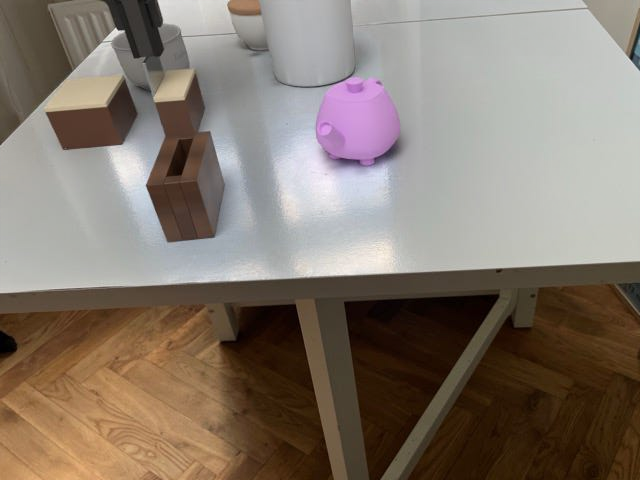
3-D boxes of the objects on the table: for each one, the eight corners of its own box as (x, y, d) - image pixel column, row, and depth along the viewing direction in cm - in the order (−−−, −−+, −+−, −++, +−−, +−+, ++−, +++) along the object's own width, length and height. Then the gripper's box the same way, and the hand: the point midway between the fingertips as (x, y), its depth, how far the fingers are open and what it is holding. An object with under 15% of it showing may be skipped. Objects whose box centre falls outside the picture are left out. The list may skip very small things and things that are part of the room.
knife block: (214, 237, 59) (196, 180, 55) (167, 242, 59) (145, 185, 54) (224, 184, 67) (210, 130, 63) (183, 188, 67) (165, 134, 62)
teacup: (198, 89, 90) (184, 37, 85) (128, 102, 88) (110, 49, 82) (188, 61, 100) (174, 14, 95) (125, 72, 97) (108, 24, 92)
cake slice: (166, 140, 77) (153, 98, 73) (178, 110, 84) (166, 70, 80) (195, 137, 77) (183, 95, 73) (205, 107, 85) (194, 68, 81)
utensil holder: (254, 85, 90) (229, -36, 79) (292, 53, 101) (275, -58, 89) (338, 92, 87) (326, -34, 75) (368, 58, 97) (361, -57, 85)
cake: (62, 149, 76) (43, 108, 72) (83, 118, 84) (67, 79, 80) (121, 144, 77) (105, 102, 73) (137, 113, 84) (123, 74, 80)
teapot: (416, 135, 75) (416, 65, 69) (365, 190, 65) (359, 114, 59) (349, 123, 78) (343, 55, 72) (291, 173, 69) (278, 100, 62)
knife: (172, 128, 77) (129, -6, 66) (157, 129, 77) (112, -5, 66) (180, 107, 83) (142, -20, 71) (166, 108, 82) (126, -19, 71)
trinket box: (242, 58, 100) (230, 2, 94) (231, 41, 108) (220, -13, 101) (299, 48, 103) (291, -8, 96) (285, 32, 110) (277, -21, 104)
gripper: (-13, -170, 55) (83, 69, 71) (141, -179, 56) (202, 59, 72) (16, -173, 61) (99, 49, 76) (155, -181, 61) (209, 40, 77)
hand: (149, 53), depth 74 cm, fingers closed on knife, 2 cm apart
